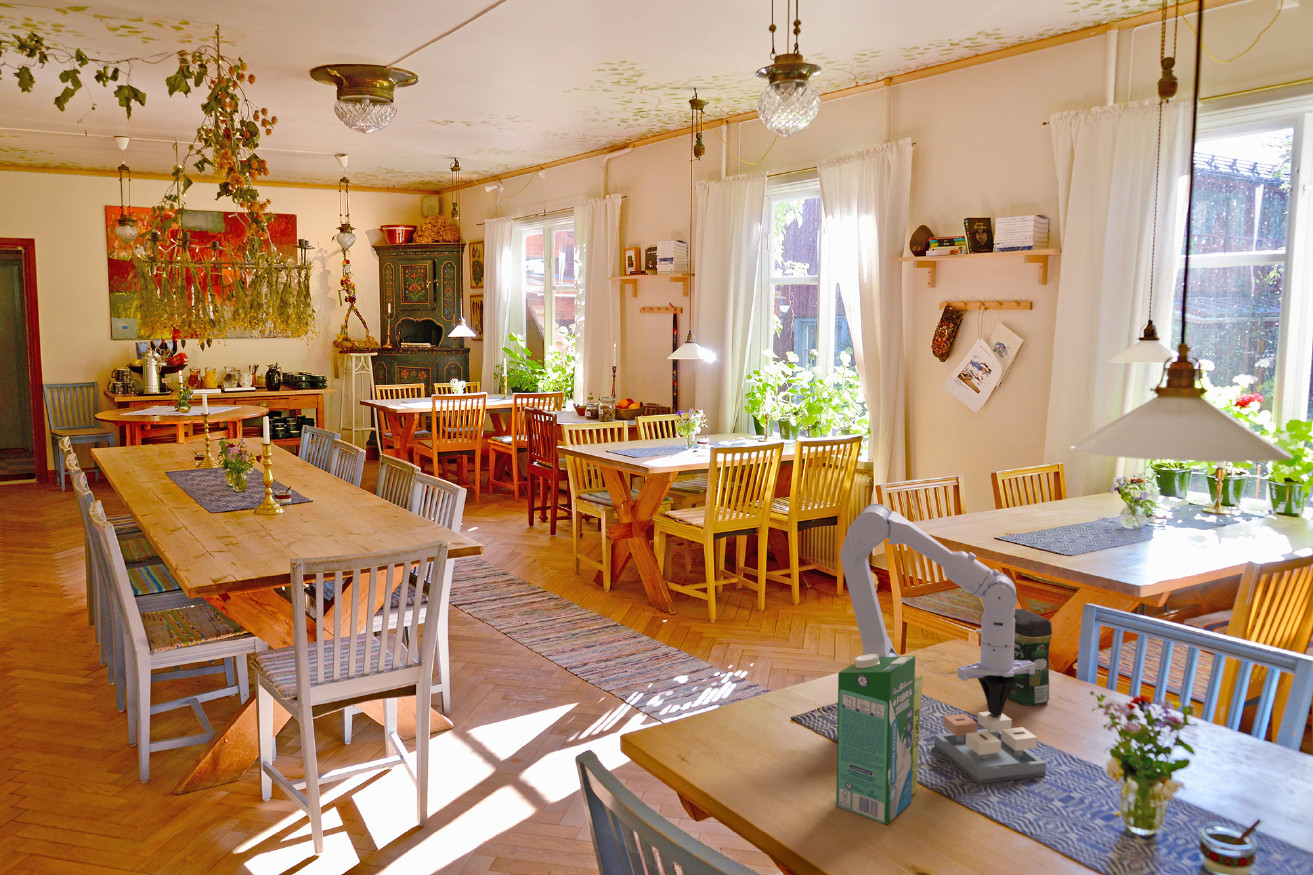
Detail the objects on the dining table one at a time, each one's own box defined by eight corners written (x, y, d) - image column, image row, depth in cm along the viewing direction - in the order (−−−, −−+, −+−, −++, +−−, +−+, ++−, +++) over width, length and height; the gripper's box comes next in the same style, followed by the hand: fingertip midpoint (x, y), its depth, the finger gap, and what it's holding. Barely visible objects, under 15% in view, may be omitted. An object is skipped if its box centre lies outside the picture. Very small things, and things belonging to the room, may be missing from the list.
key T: (1014, 761, 158) (1015, 739, 158) (1000, 750, 162) (1001, 728, 162) (1036, 759, 159) (1037, 736, 159) (1021, 748, 163) (1022, 726, 163)
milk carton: (861, 785, 156) (864, 643, 153) (911, 802, 150) (915, 655, 147) (835, 806, 149) (838, 658, 146) (886, 825, 143) (890, 671, 140)
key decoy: (955, 746, 164) (956, 724, 164) (943, 736, 168) (943, 715, 168) (976, 744, 165) (977, 722, 165) (963, 734, 169) (964, 713, 169)
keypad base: (977, 784, 156) (978, 770, 155) (934, 746, 170) (934, 734, 169) (1045, 775, 158) (1045, 762, 158) (997, 739, 172) (997, 727, 172)
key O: (990, 742, 166) (991, 721, 165) (977, 733, 170) (978, 711, 169) (1010, 740, 166) (1011, 719, 166) (997, 730, 171) (998, 709, 170)
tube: (912, 801, 150) (914, 687, 148) (881, 794, 152) (883, 682, 150) (920, 786, 155) (923, 676, 153) (890, 779, 157) (892, 670, 155)
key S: (978, 765, 157) (979, 743, 156) (965, 755, 161) (966, 732, 160) (1000, 763, 158) (1001, 740, 157) (986, 752, 162) (987, 730, 161)
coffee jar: (993, 691, 196) (996, 607, 194) (1025, 687, 198) (1029, 604, 196) (1022, 709, 186) (1026, 621, 184) (1055, 704, 188) (1059, 617, 186)
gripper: (973, 652, 161) (971, 726, 162) (1046, 646, 164) (1043, 718, 165) (952, 639, 167) (950, 710, 169) (1022, 633, 171) (1020, 703, 172)
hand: (995, 713), depth 168 cm, fingers closed
